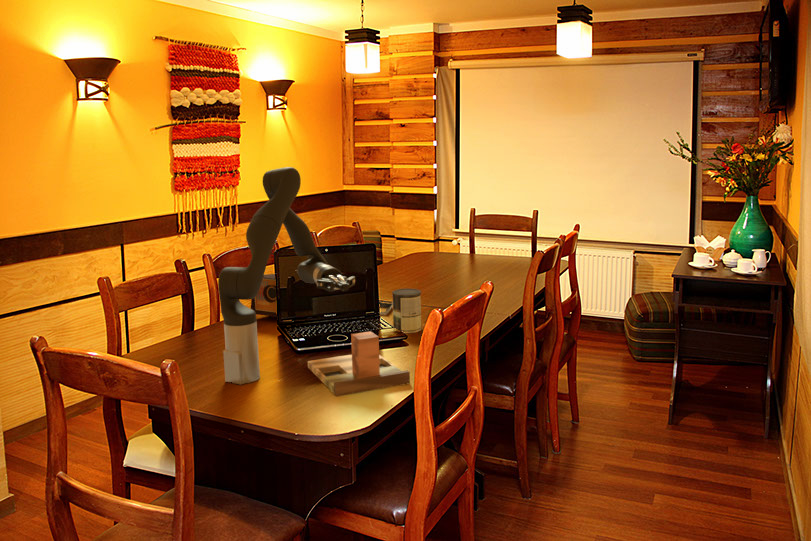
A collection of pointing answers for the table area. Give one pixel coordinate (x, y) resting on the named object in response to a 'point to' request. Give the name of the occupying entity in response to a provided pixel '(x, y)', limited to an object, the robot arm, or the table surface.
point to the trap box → (344, 382)
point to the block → (365, 354)
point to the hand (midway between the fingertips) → (345, 287)
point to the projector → (266, 297)
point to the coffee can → (407, 310)
